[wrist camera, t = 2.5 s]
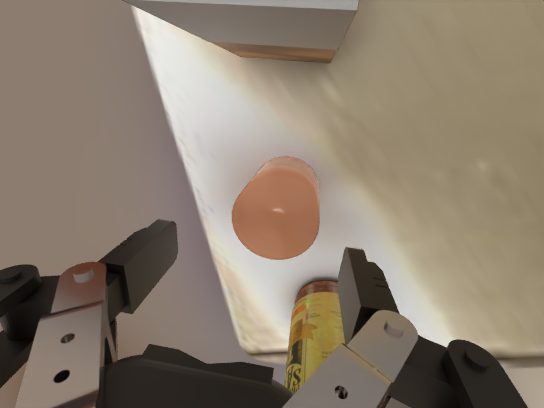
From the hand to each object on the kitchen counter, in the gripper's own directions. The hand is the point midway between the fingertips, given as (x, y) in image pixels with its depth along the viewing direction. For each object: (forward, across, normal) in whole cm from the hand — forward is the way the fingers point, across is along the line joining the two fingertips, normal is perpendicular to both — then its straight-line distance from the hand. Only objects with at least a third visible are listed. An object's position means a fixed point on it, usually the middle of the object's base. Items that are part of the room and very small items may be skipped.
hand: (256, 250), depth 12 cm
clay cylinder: (+9, -1, 0) cm, 9 cm away
